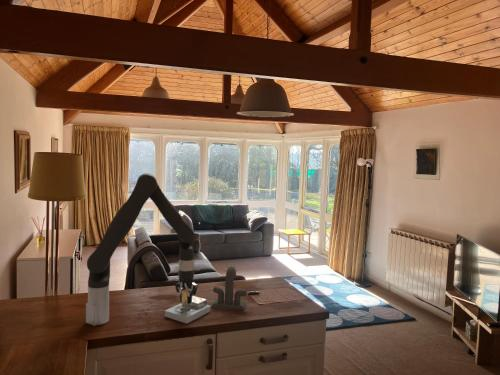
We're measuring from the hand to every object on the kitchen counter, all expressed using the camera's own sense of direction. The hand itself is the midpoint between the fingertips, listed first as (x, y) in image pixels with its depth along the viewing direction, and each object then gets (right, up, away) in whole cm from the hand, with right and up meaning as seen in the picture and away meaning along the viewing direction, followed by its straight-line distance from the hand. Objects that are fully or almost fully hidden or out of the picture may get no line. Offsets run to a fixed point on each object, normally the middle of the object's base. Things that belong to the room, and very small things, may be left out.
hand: (185, 302), depth 194 cm
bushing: (0, -2, 0) cm, 2 cm away
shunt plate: (+4, -3, +7) cm, 9 cm away
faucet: (+21, -6, +18) cm, 28 cm away
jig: (+1, -7, +2) cm, 7 cm away
